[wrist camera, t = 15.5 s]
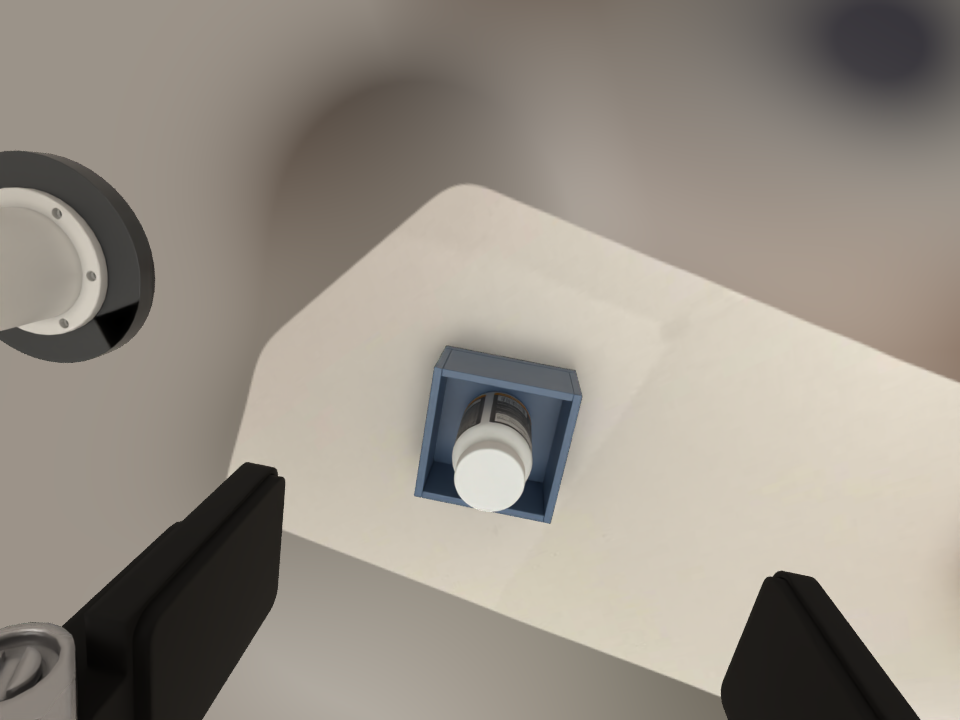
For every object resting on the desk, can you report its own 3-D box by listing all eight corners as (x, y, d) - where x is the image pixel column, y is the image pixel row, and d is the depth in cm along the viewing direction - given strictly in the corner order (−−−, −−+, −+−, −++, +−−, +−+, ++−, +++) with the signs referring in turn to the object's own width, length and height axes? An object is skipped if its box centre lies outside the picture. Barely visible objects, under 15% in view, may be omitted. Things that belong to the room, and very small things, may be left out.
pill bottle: (476, 460, 46) (462, 529, 36) (453, 399, 44) (432, 455, 35) (540, 442, 45) (543, 508, 35) (519, 380, 43) (516, 431, 34)
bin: (427, 461, 47) (413, 496, 42) (446, 345, 44) (434, 366, 38) (548, 485, 47) (550, 524, 41) (575, 370, 44) (582, 395, 38)
